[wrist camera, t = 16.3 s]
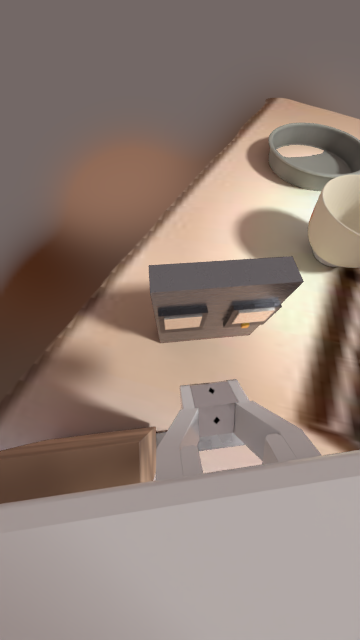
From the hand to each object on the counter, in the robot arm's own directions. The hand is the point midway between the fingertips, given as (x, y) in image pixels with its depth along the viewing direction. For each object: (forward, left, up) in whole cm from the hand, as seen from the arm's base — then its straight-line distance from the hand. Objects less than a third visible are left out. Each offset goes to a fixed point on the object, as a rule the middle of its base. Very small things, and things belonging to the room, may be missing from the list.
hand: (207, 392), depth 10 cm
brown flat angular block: (-4, +11, -18) cm, 21 cm away
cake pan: (+54, -39, -18) cm, 69 cm away
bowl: (+24, -31, -18) cm, 43 cm away
